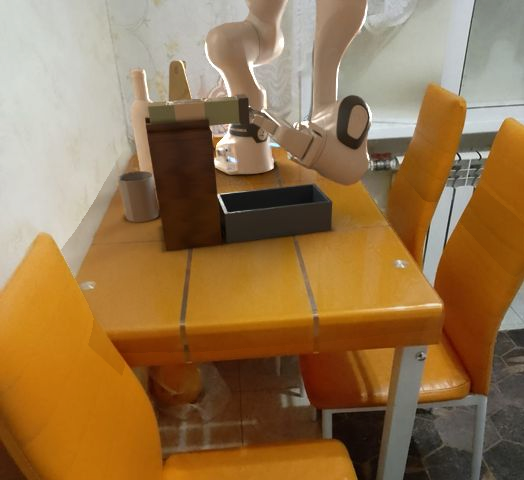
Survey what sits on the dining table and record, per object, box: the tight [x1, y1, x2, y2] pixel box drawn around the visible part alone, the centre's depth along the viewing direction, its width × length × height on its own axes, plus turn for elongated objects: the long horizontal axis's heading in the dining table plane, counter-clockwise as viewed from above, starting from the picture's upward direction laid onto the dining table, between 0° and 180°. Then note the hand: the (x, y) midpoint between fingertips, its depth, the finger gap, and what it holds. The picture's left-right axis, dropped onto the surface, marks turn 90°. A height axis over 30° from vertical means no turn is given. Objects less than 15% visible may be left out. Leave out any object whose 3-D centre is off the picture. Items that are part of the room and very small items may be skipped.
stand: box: [145, 117, 223, 252], centre depth 107 cm, size 12×14×25 cm
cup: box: [117, 170, 160, 223], centre depth 123 cm, size 8×8×10 cm
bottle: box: [129, 68, 156, 190], centre depth 137 cm, size 8×8×30 cm
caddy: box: [168, 59, 192, 101], centre depth 163 cm, size 29×11×30 cm, turn 178°
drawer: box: [147, 94, 250, 127], centre depth 100 cm, size 20×5×5 cm, turn 102°
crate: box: [217, 182, 333, 244], centre depth 115 cm, size 25×14×7 cm, turn 102°
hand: (249, 113), depth 102 cm, fingers open, 8 cm apart
